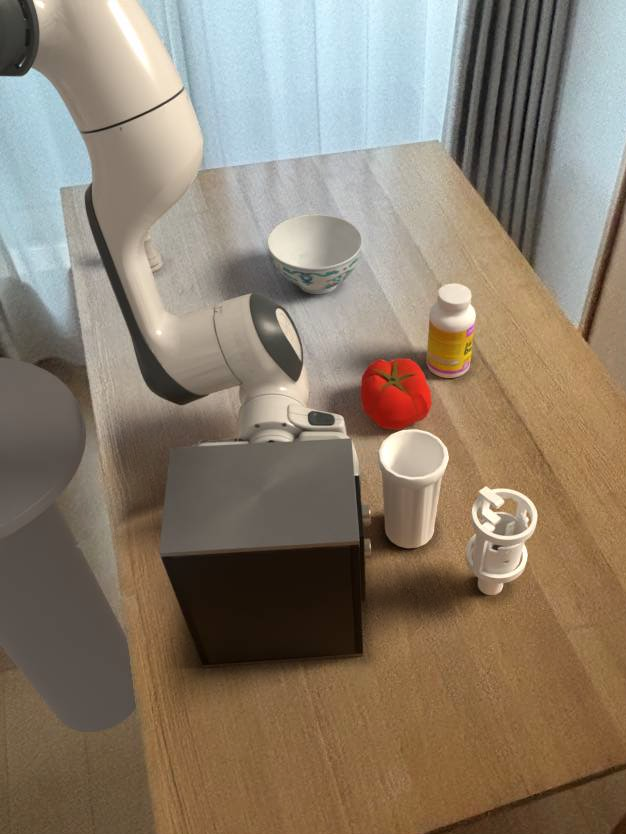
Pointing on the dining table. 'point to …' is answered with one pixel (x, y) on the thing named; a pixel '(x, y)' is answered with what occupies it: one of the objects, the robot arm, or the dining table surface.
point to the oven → (267, 550)
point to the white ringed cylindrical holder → (499, 539)
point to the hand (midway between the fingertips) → (273, 528)
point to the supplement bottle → (451, 332)
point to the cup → (411, 485)
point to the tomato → (395, 393)
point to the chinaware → (315, 251)
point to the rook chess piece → (152, 254)
